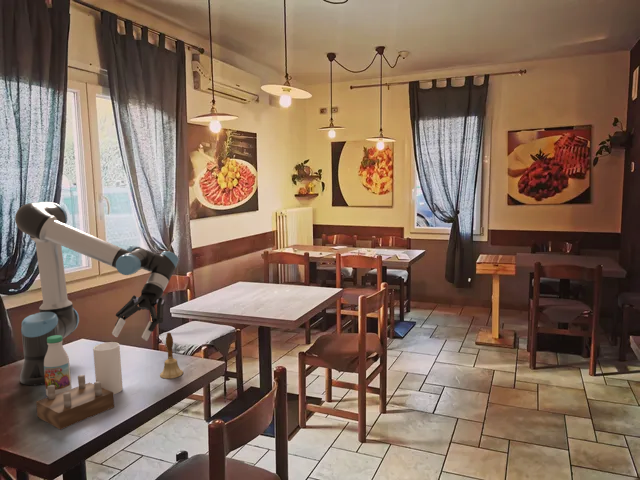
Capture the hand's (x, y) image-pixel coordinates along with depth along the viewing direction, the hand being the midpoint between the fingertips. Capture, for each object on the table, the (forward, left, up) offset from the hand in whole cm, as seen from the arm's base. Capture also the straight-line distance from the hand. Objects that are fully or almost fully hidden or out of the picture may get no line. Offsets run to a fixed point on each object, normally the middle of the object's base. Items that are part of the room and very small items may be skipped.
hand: (129, 337), depth 174 cm
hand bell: (+8, +11, -16) cm, 22 cm away
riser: (+8, -25, -16) cm, 30 cm away
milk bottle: (-11, -21, -16) cm, 29 cm away
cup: (+2, -10, -16) cm, 19 cm away
